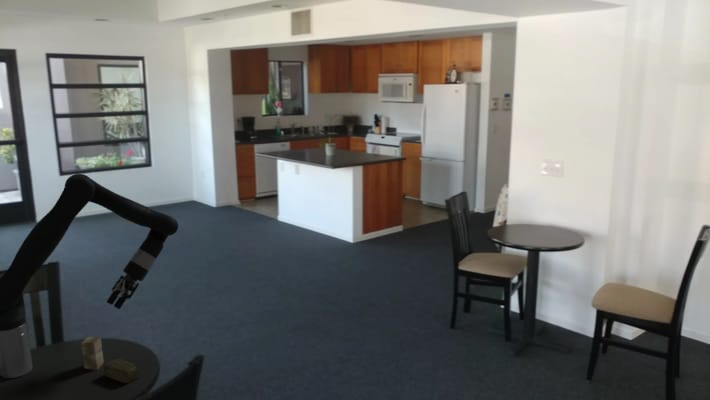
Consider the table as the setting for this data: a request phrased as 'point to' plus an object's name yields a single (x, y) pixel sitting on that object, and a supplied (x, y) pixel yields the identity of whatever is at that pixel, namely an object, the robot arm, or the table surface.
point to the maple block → (92, 353)
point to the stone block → (121, 370)
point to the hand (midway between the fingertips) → (112, 305)
